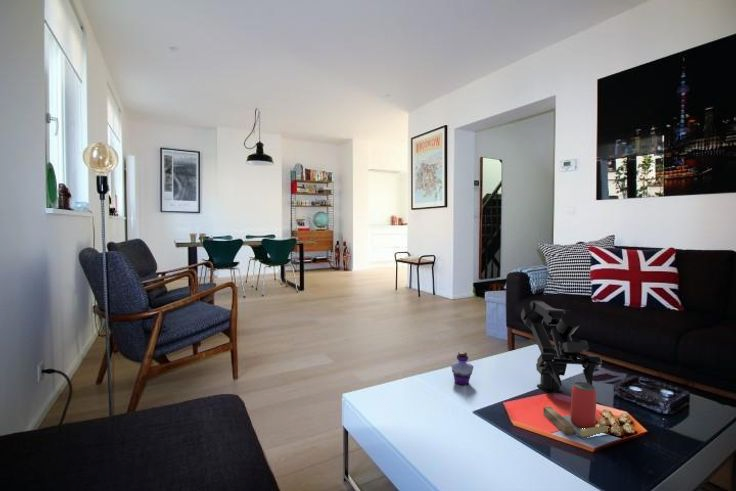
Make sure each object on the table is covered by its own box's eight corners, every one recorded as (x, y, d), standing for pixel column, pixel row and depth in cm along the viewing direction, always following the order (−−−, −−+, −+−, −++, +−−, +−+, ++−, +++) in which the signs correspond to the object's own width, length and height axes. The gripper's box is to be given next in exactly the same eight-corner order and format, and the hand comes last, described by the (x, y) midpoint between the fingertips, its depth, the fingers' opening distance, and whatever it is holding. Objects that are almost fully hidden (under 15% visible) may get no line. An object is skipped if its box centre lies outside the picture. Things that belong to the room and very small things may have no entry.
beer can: (600, 428, 111) (602, 389, 111) (580, 430, 110) (582, 390, 110) (584, 417, 118) (585, 380, 117) (565, 419, 117) (567, 381, 116)
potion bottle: (472, 379, 148) (473, 349, 147) (474, 388, 140) (475, 357, 139) (450, 377, 150) (450, 348, 149) (450, 386, 141) (451, 355, 140)
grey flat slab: (554, 419, 118) (554, 412, 118) (583, 415, 120) (583, 408, 120) (582, 439, 107) (582, 431, 107) (613, 434, 110) (613, 426, 110)
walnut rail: (543, 414, 121) (543, 406, 121) (550, 414, 121) (551, 406, 121) (565, 435, 109) (565, 426, 109) (573, 434, 109) (573, 426, 109)
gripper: (541, 329, 124) (553, 375, 114) (600, 331, 122) (617, 378, 112) (532, 344, 132) (542, 388, 122) (588, 347, 131) (602, 392, 120)
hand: (575, 386), depth 119 cm, fingers open, 9 cm apart
